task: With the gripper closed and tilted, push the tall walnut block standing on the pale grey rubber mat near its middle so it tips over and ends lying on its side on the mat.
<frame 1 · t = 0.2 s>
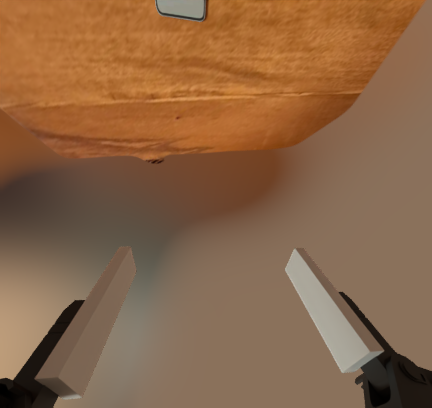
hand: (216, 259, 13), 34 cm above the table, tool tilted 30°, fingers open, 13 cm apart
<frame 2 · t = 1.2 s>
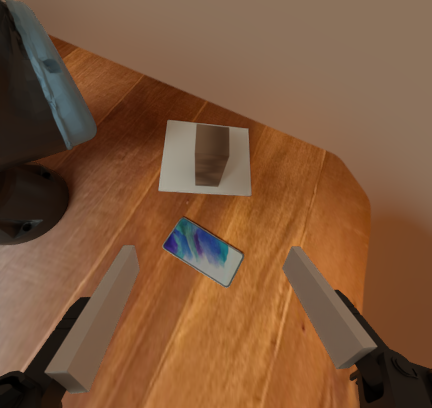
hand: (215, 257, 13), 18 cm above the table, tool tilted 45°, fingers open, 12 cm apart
mat: (207, 157, 36), on the table
walnut block: (207, 175, 34), point 1 cm above the table, touching mat
smartphone: (204, 250, 31), on the table
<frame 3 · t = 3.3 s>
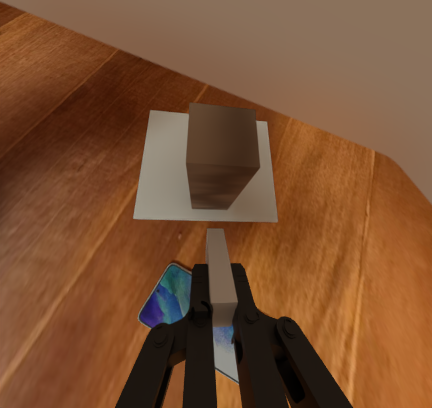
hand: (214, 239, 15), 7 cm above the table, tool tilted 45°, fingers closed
mat: (210, 164, 24), on the table
walnut block: (209, 192, 22), point 1 cm above the table, touching mat
smartphone: (207, 318, 19), on the table
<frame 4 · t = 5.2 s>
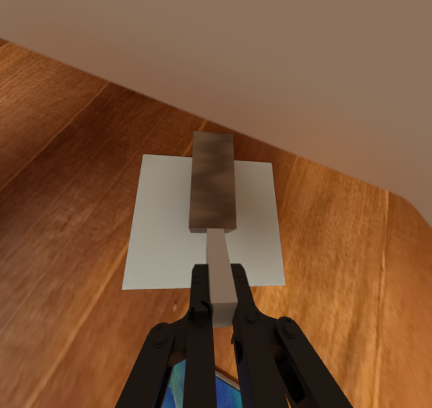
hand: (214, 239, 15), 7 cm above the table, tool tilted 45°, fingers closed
mat: (209, 216, 22), on the table
walnut block: (210, 231, 18), point 3 cm above the table, tilted 90°, touching mat
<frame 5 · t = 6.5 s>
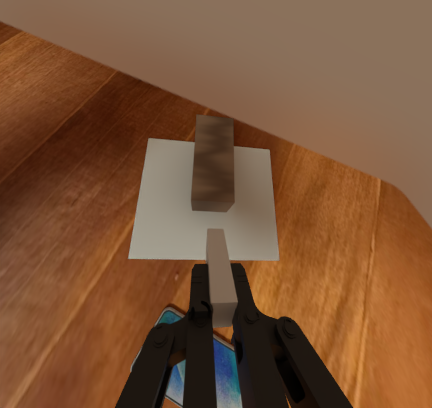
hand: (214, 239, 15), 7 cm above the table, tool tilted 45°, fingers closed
mat: (209, 196, 23), on the table
walnut block: (211, 207, 20), point 3 cm above the table, tilted 90°, touching mat
smartphone: (203, 366, 18), on the table
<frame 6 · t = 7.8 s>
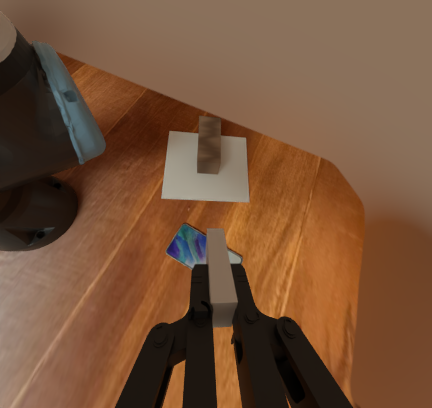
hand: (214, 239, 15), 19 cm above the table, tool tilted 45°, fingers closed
mat: (207, 166, 38), on the table
walnut block: (208, 168, 34), point 3 cm above the table, tilted 90°, touching mat
smartphone: (204, 255, 32), on the table
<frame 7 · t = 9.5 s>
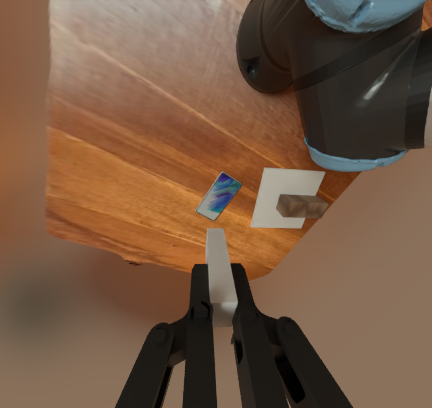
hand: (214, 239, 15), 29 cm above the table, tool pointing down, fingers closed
mat: (284, 200, 48), on the table
walnut block: (281, 205, 45), point 3 cm above the table, tilted 90°, touching mat
smartphone: (217, 197, 46), on the table
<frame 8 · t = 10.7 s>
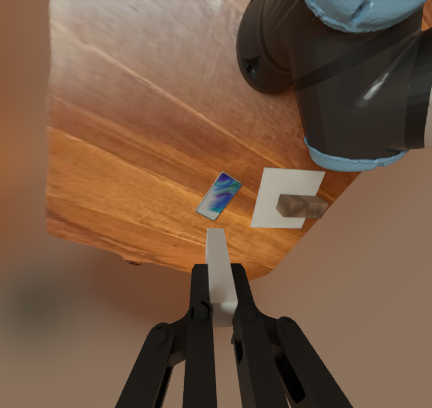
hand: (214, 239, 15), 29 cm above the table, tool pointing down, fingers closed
mat: (284, 200, 48), on the table
walnut block: (281, 205, 45), point 3 cm above the table, tilted 90°, touching mat
smartphone: (217, 197, 46), on the table
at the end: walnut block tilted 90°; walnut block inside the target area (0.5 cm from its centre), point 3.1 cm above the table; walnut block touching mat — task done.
